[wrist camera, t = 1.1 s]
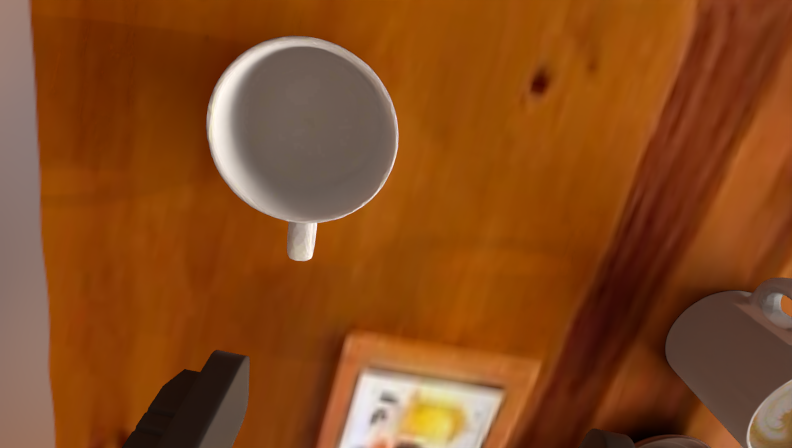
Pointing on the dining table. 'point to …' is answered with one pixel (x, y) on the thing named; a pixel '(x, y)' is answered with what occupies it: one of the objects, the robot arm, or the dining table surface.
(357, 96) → the teacup
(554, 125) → the dining table surface
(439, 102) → the dining table surface
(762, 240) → the dining table surface
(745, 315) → the coffee mug
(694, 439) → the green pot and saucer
